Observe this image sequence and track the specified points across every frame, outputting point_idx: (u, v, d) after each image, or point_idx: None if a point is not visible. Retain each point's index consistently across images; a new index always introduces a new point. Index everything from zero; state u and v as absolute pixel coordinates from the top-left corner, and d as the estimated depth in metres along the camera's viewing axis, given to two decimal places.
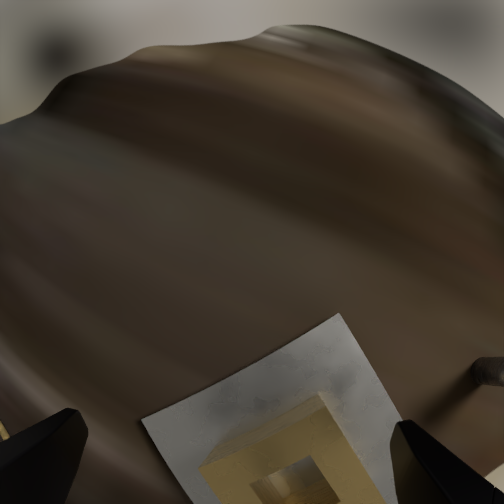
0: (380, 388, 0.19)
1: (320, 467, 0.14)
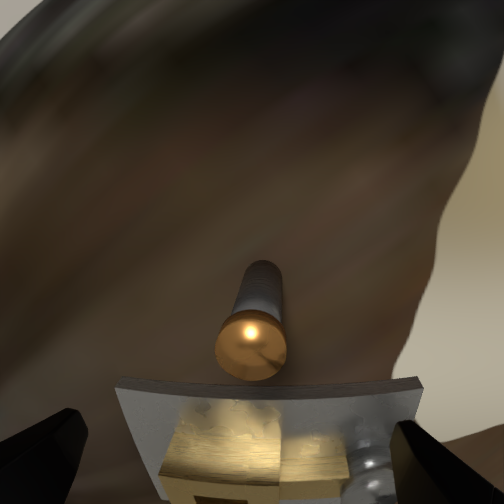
0: (193, 399, 0.20)
1: (207, 496, 0.17)
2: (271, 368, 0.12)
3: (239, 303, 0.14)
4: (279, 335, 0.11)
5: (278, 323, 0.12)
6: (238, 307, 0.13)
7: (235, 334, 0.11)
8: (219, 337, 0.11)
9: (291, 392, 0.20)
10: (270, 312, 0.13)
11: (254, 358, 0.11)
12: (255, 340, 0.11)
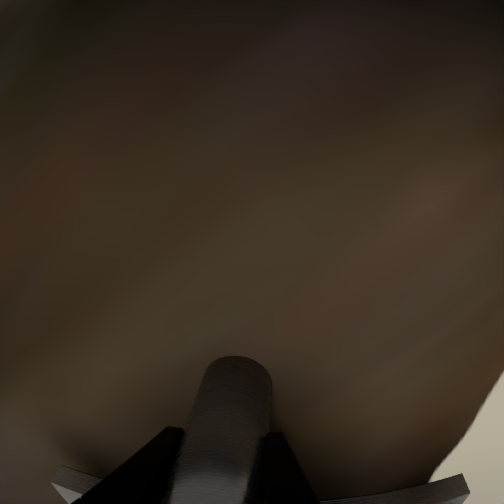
0: None
1: None
2: None
3: None
4: None
5: None
6: None
7: None
8: None
9: None
10: None
11: None
12: None
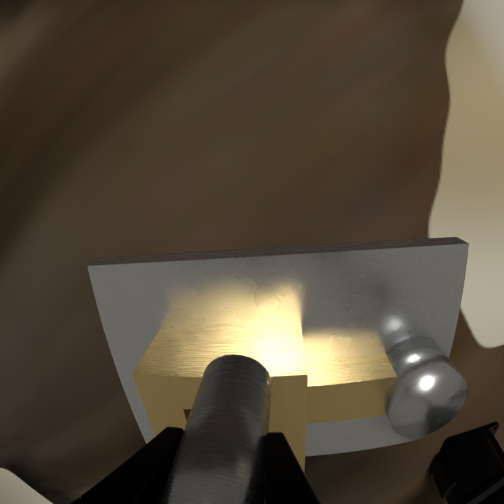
0: (184, 264, 0.17)
1: None
2: None
3: None
4: None
5: None
6: None
7: None
8: None
9: (310, 248, 0.17)
10: None
11: None
12: None
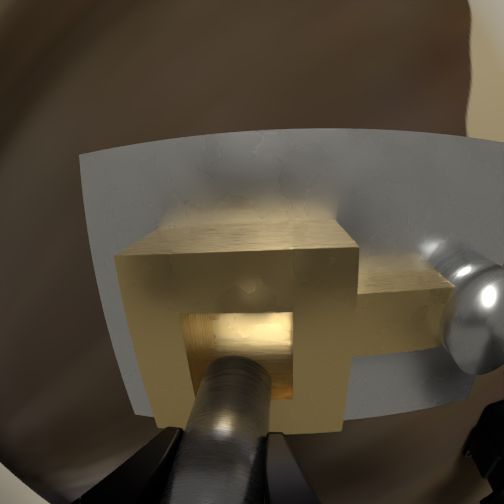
0: (195, 141, 0.13)
1: (207, 310, 0.11)
2: None
3: None
4: None
5: None
6: None
7: None
8: None
9: None
10: None
11: None
12: None
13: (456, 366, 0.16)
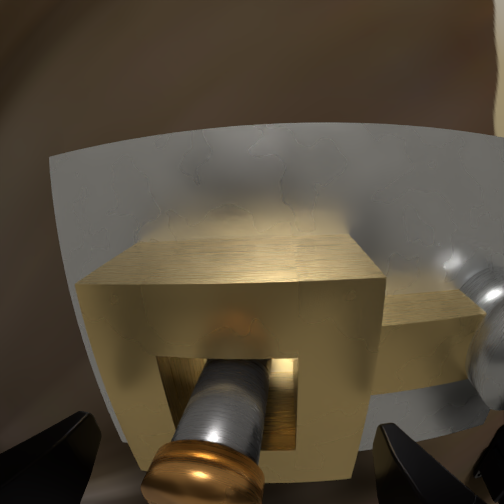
0: (179, 138, 0.11)
1: (190, 354, 0.08)
2: None
3: (191, 408, 0.07)
4: (246, 496, 0.05)
5: (248, 466, 0.06)
6: (186, 419, 0.07)
7: (169, 485, 0.05)
8: (144, 482, 0.05)
9: None
10: (237, 438, 0.06)
11: None
12: (204, 496, 0.05)
13: (475, 392, 0.13)
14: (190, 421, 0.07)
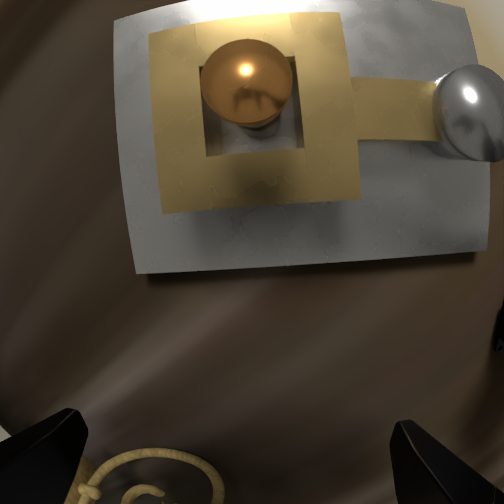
0: None
1: None
2: (275, 98, 0.08)
3: None
4: (280, 52, 0.08)
5: None
6: None
7: (226, 56, 0.08)
8: (206, 63, 0.08)
9: None
10: None
11: (251, 86, 0.08)
12: (251, 61, 0.08)
13: (466, 201, 0.16)
14: None
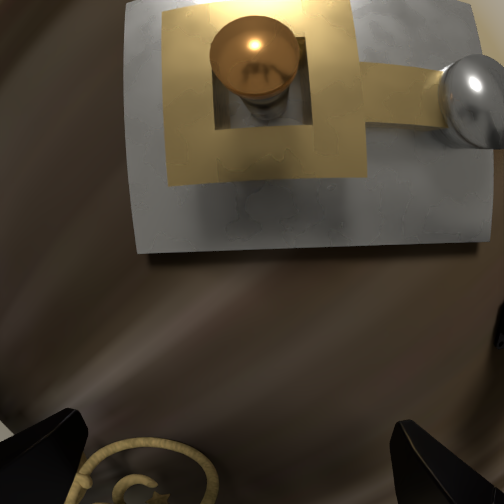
0: None
1: None
2: (282, 71, 0.08)
3: None
4: (288, 29, 0.08)
5: None
6: None
7: (235, 31, 0.08)
8: (216, 37, 0.08)
9: None
10: None
11: (259, 59, 0.08)
12: (260, 35, 0.08)
13: (470, 190, 0.16)
14: None
